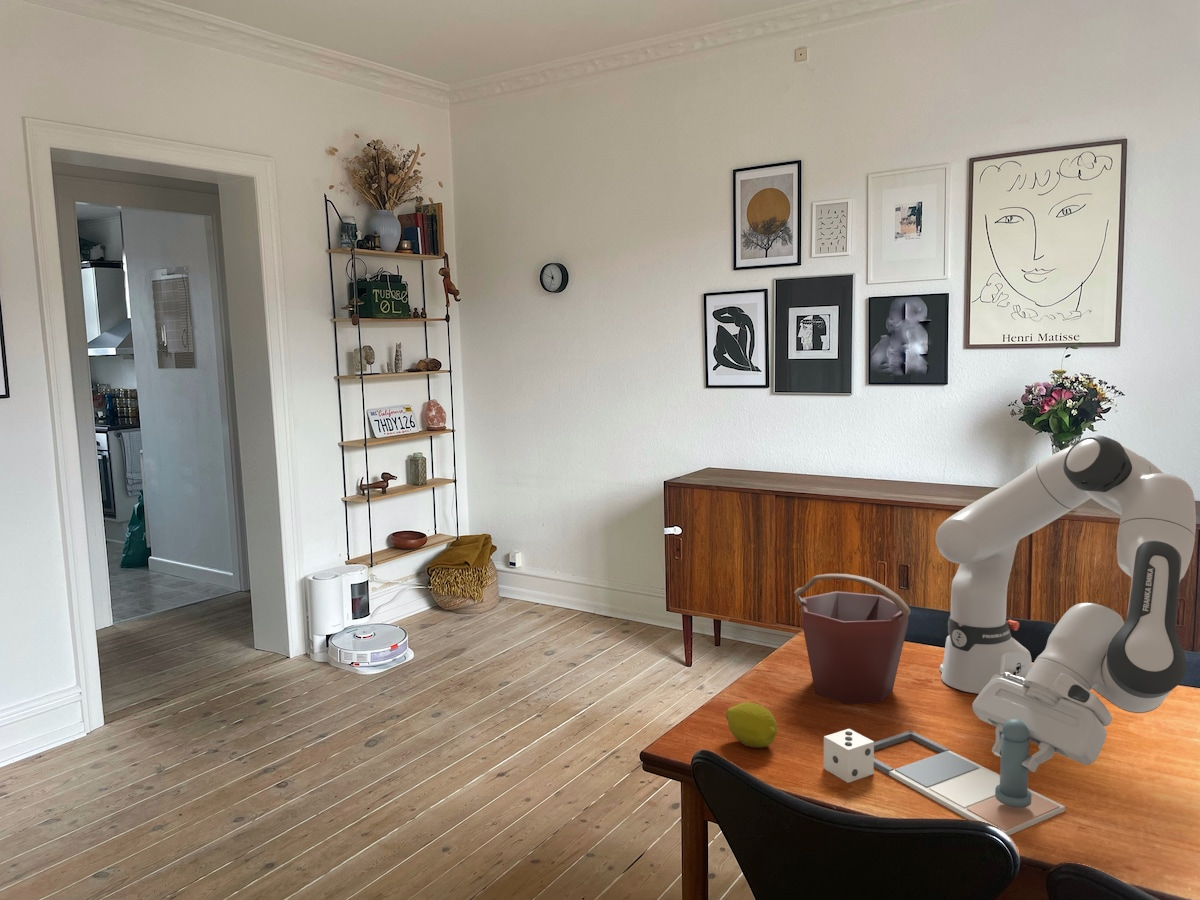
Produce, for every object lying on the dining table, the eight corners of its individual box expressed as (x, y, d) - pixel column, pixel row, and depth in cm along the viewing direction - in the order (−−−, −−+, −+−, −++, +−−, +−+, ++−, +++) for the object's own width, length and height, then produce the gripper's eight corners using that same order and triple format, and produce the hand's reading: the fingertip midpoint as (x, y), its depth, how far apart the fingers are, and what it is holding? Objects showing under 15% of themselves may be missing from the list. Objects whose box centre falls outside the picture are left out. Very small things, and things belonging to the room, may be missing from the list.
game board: (910, 735, 167) (910, 730, 167) (1064, 811, 139) (1064, 805, 139) (852, 754, 160) (852, 749, 160) (1002, 838, 132) (1002, 832, 132)
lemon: (787, 749, 162) (787, 708, 161) (756, 761, 158) (756, 719, 157) (748, 728, 172) (747, 690, 171) (717, 739, 167) (717, 699, 166)
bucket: (774, 685, 192) (774, 575, 189) (834, 660, 206) (834, 557, 203) (872, 720, 174) (874, 599, 170) (930, 690, 188) (932, 577, 185)
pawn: (1009, 787, 142) (1012, 710, 140) (1038, 801, 138) (1041, 722, 136) (988, 796, 140) (990, 717, 138) (1017, 810, 135) (1019, 730, 133)
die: (848, 760, 158) (849, 727, 157) (874, 774, 152) (874, 741, 152) (823, 768, 155) (823, 735, 154) (847, 783, 150) (848, 749, 149)
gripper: (989, 659, 149) (948, 726, 145) (1107, 701, 131) (1063, 779, 127) (1006, 678, 151) (966, 745, 148) (1123, 722, 133) (1081, 799, 130)
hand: (1012, 761), depth 138 cm, fingers closed on pawn, 4 cm apart
